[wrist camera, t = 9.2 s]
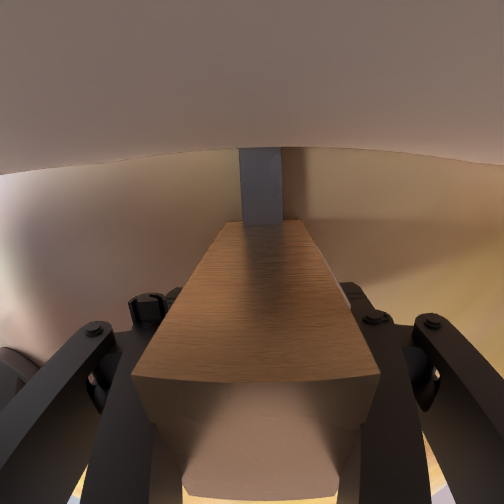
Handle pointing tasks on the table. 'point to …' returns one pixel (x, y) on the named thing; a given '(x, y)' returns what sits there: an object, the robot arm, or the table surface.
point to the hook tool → (259, 359)
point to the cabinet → (248, 78)
